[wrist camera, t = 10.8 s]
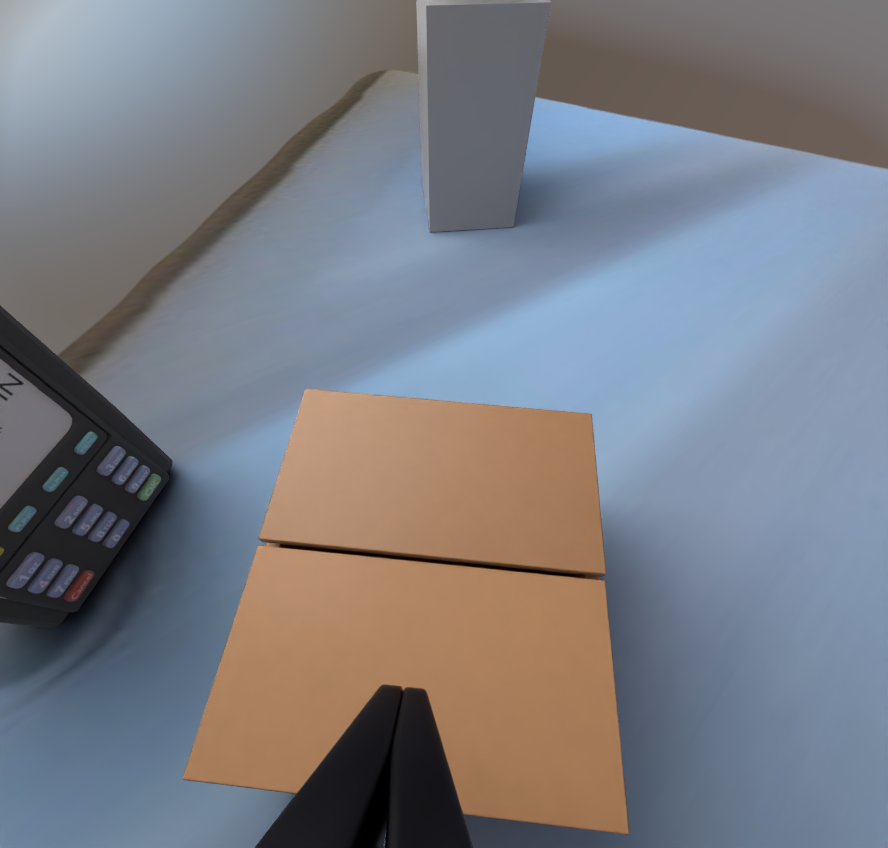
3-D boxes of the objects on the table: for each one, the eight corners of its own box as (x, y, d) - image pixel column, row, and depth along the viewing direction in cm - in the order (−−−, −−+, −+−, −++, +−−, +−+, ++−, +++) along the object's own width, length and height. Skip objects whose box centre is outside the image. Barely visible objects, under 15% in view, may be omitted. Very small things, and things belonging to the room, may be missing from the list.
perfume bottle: (422, 183, 38) (411, -158, 23) (498, 179, 39) (538, -158, 23) (429, 232, 35) (424, -131, 19) (513, 227, 35) (572, -131, 20)
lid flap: (624, 831, 11) (630, 835, 10) (188, 777, 11) (181, 780, 11) (601, 583, 14) (605, 580, 14) (261, 548, 14) (257, 544, 14)
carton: (552, 777, 17) (632, 840, 10) (281, 745, 18) (177, 783, 11) (546, 494, 24) (593, 411, 16) (343, 475, 24) (304, 386, 17)
